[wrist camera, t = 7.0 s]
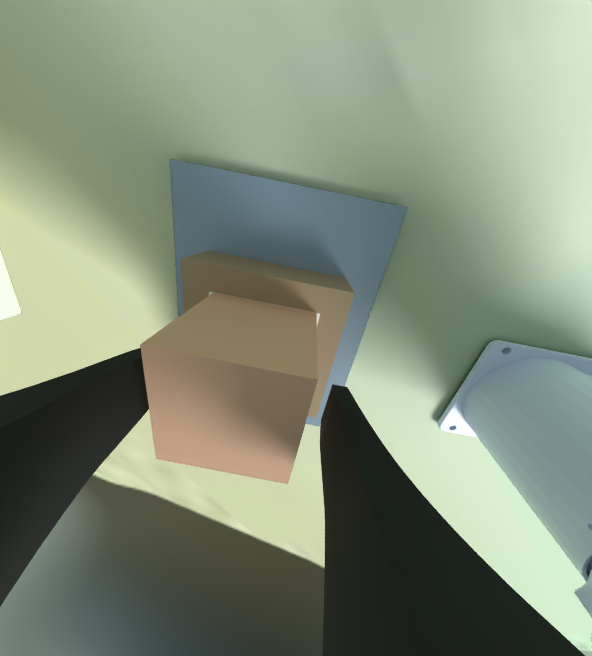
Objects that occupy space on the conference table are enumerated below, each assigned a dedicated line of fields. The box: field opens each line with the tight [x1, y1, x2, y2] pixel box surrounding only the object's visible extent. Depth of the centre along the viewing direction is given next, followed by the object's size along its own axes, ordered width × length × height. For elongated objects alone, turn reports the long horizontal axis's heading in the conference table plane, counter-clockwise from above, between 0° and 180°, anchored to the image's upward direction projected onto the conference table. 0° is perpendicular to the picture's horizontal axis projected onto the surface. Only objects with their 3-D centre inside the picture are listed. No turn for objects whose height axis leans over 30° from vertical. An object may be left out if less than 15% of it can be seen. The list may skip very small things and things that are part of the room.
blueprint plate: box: [170, 159, 408, 426], centre depth 14 cm, size 12×16×4 cm
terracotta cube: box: [140, 292, 318, 484], centre depth 10 cm, size 5×5×5 cm
